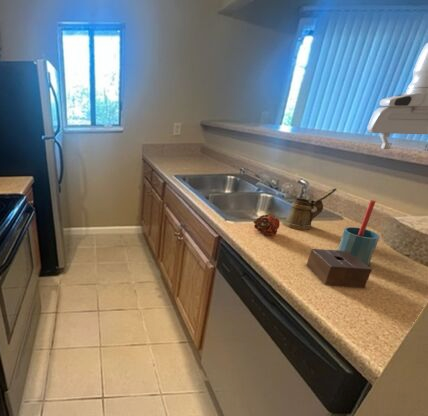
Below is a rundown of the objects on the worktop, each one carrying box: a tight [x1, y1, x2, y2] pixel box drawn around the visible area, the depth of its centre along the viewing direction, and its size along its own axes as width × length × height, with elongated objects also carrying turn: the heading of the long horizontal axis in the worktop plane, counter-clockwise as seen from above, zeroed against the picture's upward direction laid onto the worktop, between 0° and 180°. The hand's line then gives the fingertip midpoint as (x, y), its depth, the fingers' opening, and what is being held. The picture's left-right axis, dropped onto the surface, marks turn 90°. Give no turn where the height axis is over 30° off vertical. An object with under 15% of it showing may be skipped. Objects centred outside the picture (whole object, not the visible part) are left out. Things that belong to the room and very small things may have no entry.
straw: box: [358, 199, 377, 237], centre depth 86 cm, size 1×1×20 cm
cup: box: [337, 226, 380, 267], centre depth 88 cm, size 8×8×10 cm
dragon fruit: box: [253, 213, 280, 236], centre depth 108 cm, size 8×8×12 cm
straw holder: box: [306, 248, 373, 288], centre depth 81 cm, size 10×10×6 cm
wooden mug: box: [283, 187, 338, 231], centre depth 110 cm, size 9×14×18 cm, turn 47°
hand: (406, 149), depth 81 cm, fingers open, 8 cm apart
